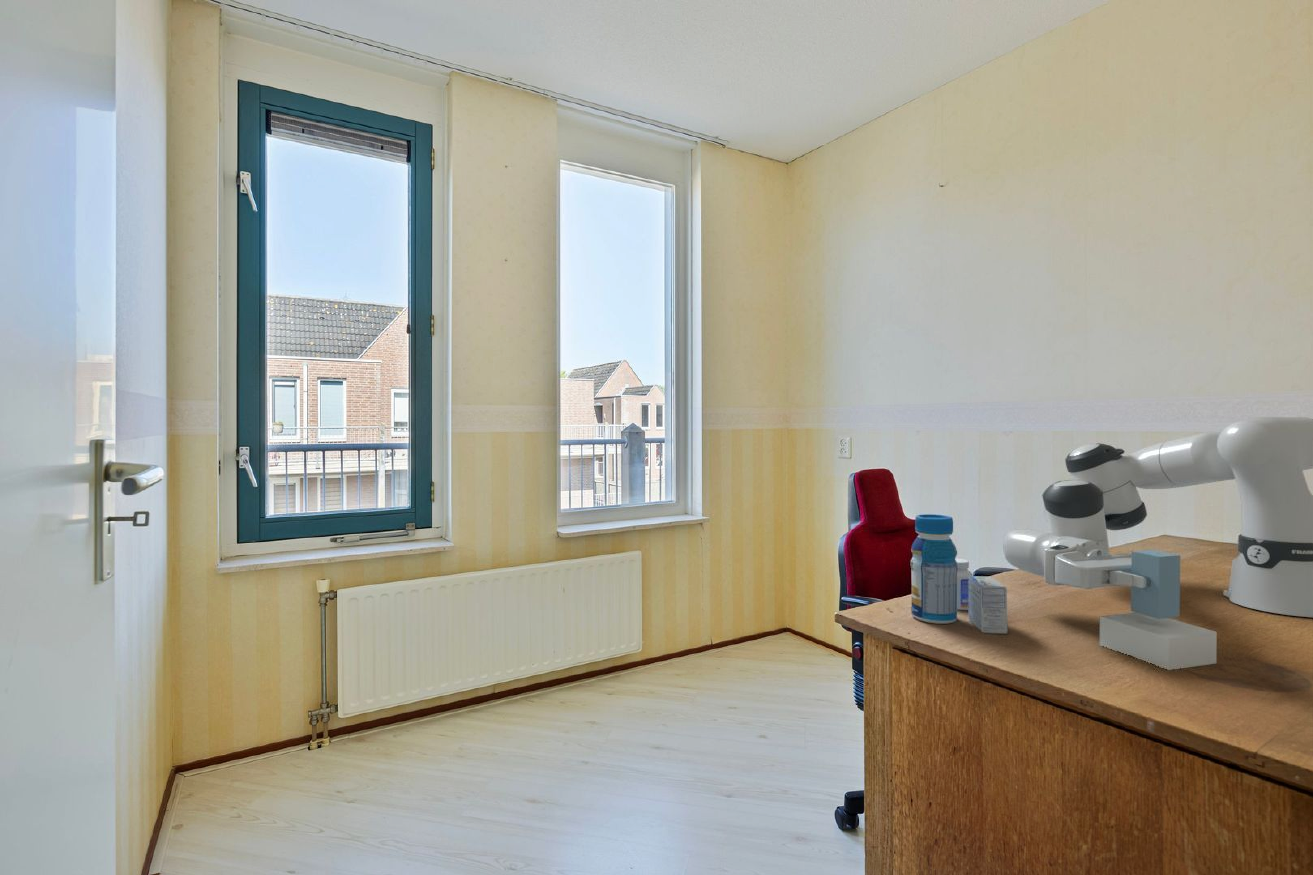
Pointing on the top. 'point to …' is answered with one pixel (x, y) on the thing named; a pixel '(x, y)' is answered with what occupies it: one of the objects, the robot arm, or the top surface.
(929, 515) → the beverage bottle
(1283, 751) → the top surface
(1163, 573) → the block
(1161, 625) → the block
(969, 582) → the medicine box
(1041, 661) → the top surface
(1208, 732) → the top surface
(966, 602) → the pill bottle
